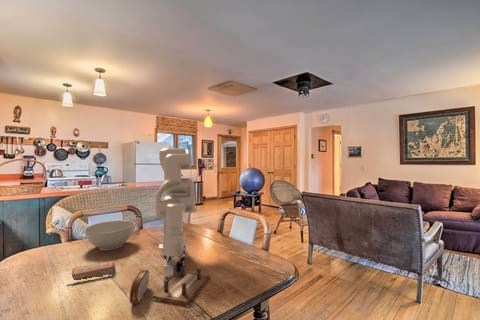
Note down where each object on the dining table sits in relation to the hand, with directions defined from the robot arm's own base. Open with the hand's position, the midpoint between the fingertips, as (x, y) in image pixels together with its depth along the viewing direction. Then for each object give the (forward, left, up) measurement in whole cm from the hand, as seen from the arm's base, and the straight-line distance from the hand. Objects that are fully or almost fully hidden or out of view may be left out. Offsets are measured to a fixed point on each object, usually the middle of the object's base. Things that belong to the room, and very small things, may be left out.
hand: (175, 269), depth 114 cm
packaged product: (-33, -15, -1) cm, 36 cm away
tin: (-1, -22, -1) cm, 22 cm away
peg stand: (+12, -13, 0) cm, 18 cm away
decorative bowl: (-53, +16, -1) cm, 55 cm away
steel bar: (0, 0, -1) cm, 1 cm away
